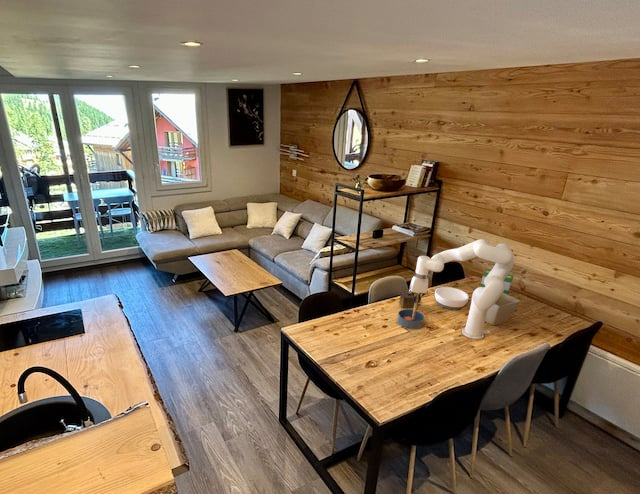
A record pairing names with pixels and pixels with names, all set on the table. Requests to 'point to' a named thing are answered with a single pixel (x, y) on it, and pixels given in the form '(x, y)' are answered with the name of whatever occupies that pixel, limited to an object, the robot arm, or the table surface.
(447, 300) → the bowl
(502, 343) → the table surface
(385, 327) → the table surface
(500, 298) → the flower pot
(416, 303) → the stick
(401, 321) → the mixing bowl
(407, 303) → the stick holder
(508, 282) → the green and white carton
